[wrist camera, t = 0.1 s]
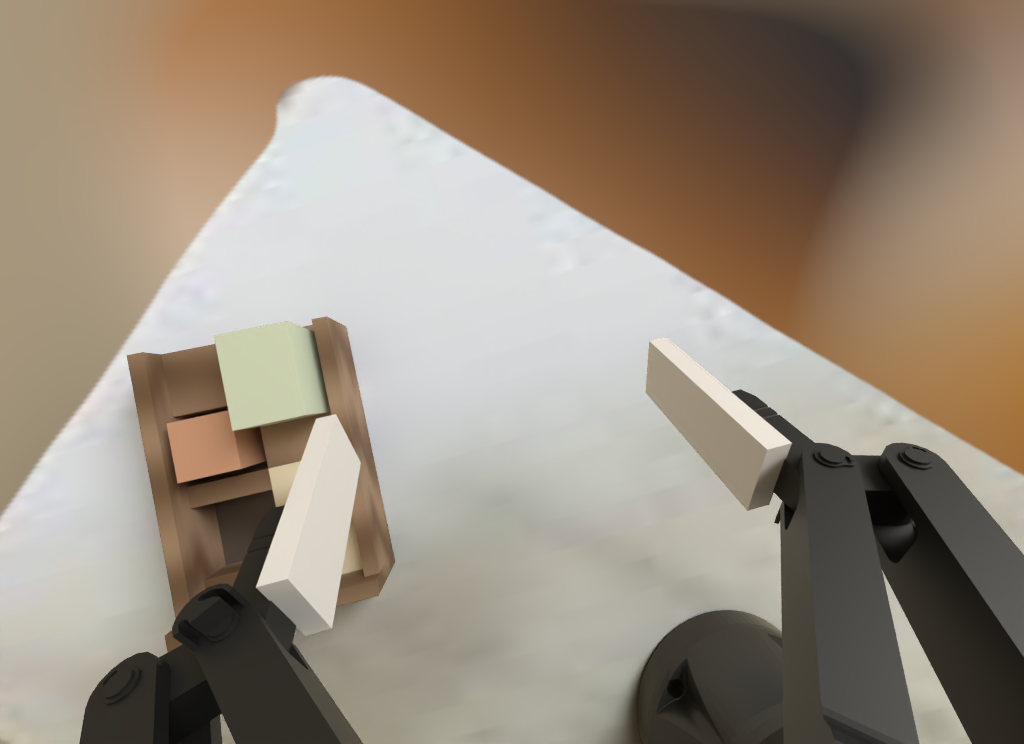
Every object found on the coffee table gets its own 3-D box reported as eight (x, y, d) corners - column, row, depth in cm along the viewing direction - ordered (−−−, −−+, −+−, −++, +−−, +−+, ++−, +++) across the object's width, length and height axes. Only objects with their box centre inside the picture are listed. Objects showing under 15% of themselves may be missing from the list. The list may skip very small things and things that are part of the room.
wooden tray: (395, 561, 30) (378, 595, 25) (221, 607, 29) (167, 652, 24) (346, 326, 31) (320, 313, 26) (174, 360, 29) (112, 353, 24)
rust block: (273, 458, 29) (241, 468, 25) (218, 471, 29) (177, 483, 25) (263, 407, 30) (229, 410, 26) (208, 419, 29) (166, 423, 25)
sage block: (330, 411, 28) (306, 414, 24) (268, 425, 27) (232, 430, 23) (314, 331, 28) (287, 321, 24) (251, 343, 28) (213, 335, 24)
